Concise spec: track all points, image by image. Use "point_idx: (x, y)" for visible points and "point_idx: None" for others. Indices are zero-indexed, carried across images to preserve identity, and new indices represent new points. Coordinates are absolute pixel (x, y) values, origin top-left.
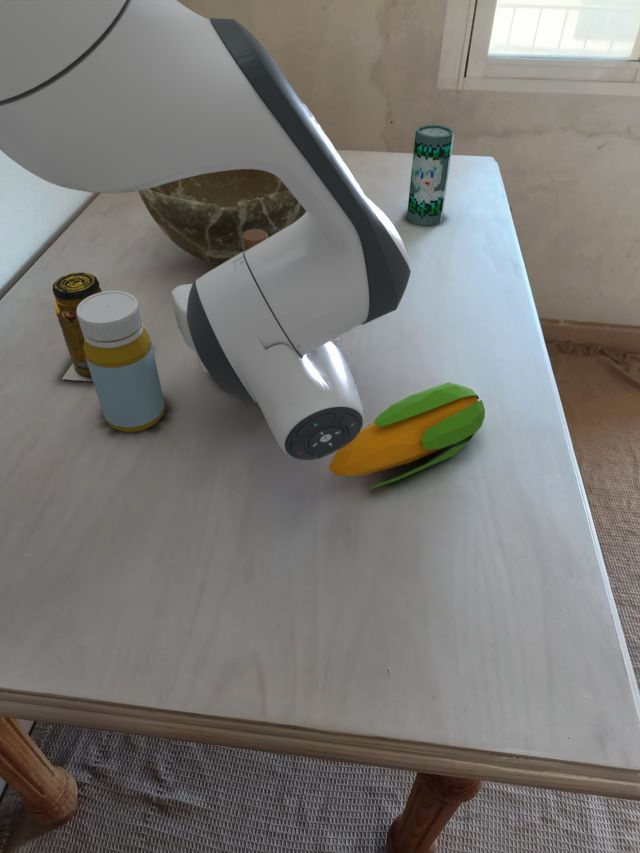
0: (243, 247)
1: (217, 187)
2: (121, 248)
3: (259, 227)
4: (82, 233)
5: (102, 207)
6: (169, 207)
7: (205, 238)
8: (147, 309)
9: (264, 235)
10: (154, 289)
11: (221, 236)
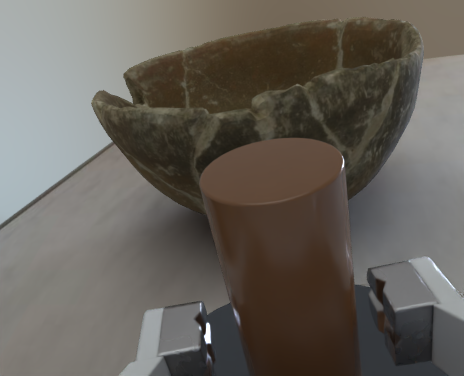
0: (213, 238)
1: (243, 104)
2: (115, 200)
3: None
4: (80, 183)
5: (119, 150)
6: (122, 128)
7: (195, 181)
8: (101, 318)
9: (325, 166)
10: (130, 270)
11: None
